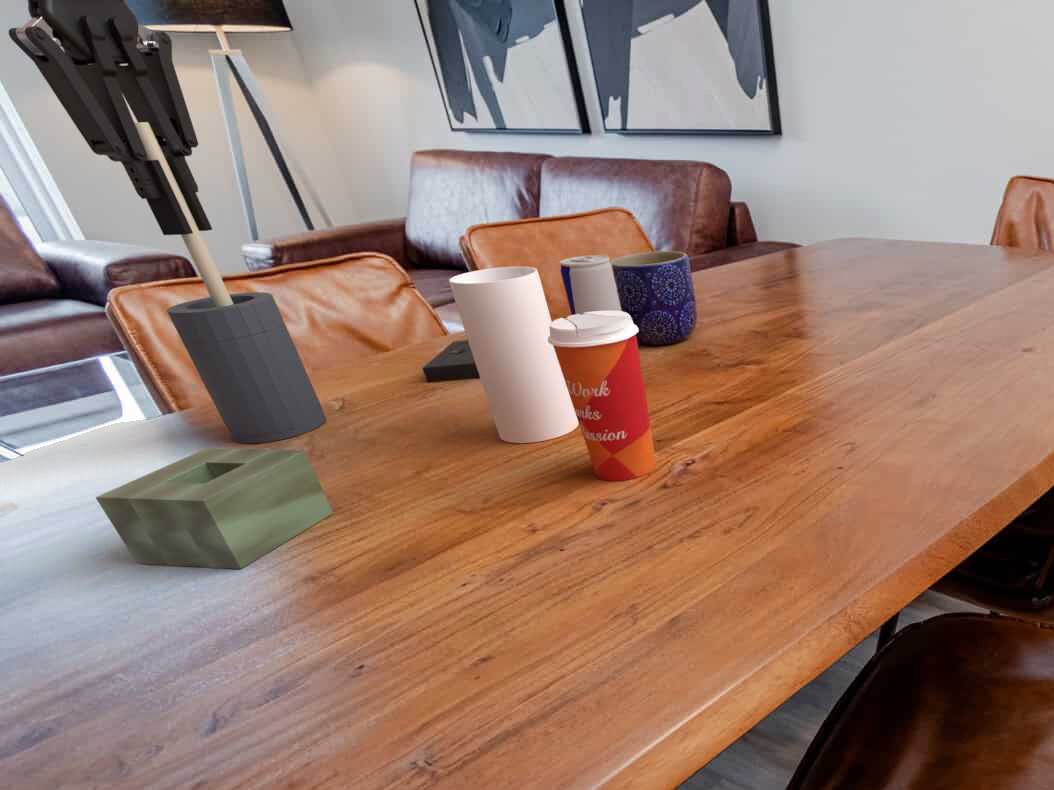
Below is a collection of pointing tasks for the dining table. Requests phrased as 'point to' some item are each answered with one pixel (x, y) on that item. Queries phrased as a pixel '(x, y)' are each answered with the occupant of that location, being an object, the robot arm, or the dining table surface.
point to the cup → (515, 352)
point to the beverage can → (590, 284)
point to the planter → (657, 295)
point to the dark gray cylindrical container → (249, 367)
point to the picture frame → (452, 364)
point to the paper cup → (606, 390)
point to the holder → (217, 507)
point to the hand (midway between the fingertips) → (188, 231)
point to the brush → (194, 239)
